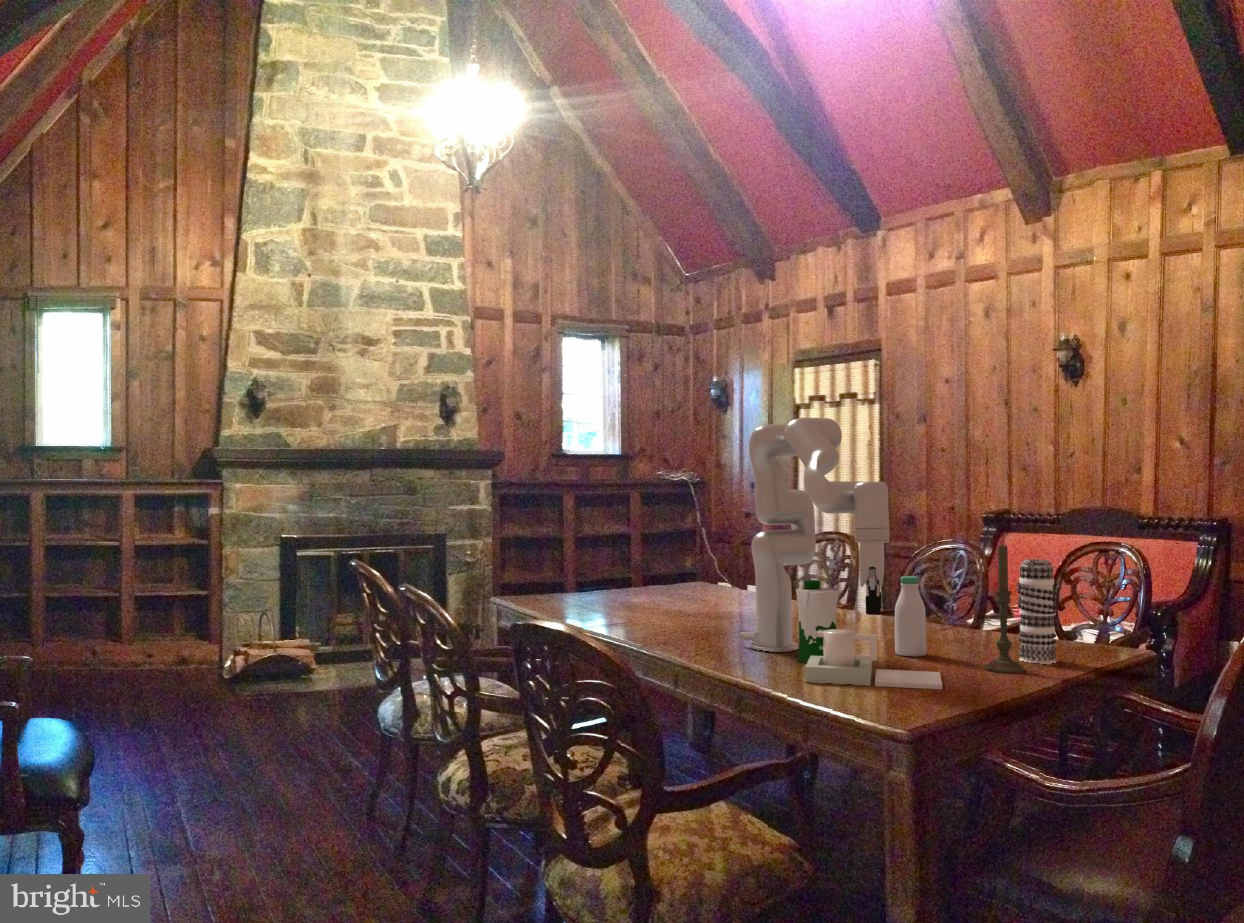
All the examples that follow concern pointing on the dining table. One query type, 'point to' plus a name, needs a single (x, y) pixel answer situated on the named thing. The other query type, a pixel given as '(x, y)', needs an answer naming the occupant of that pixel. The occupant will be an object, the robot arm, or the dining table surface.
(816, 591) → the milk carton
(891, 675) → the tile
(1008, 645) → the candlestick holder
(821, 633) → the capsule with loop handle
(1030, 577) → the decorative candle
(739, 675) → the dining table surface
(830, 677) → the holder
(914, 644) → the milk bottle
